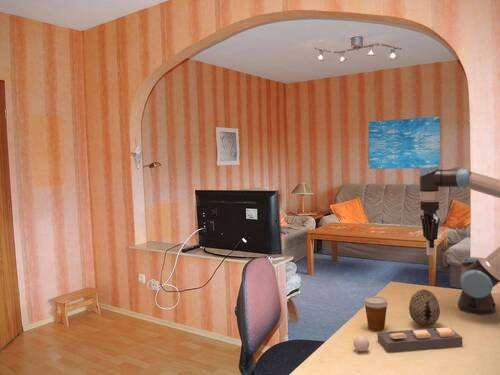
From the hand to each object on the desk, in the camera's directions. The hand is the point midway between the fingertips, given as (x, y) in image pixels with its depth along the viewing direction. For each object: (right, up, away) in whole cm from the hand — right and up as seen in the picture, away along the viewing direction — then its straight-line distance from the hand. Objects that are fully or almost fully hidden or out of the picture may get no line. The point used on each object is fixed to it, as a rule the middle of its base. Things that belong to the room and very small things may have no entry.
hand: (430, 254), depth 192 cm
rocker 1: (-24, -25, -31) cm, 47 cm away
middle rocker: (-16, -25, -30) cm, 42 cm away
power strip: (-15, -29, -27) cm, 43 cm away
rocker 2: (-7, -24, -29) cm, 39 cm away
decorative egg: (-7, -28, -11) cm, 31 cm away
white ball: (-37, -31, -30) cm, 57 cm away
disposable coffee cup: (-27, -29, -11) cm, 41 cm away
